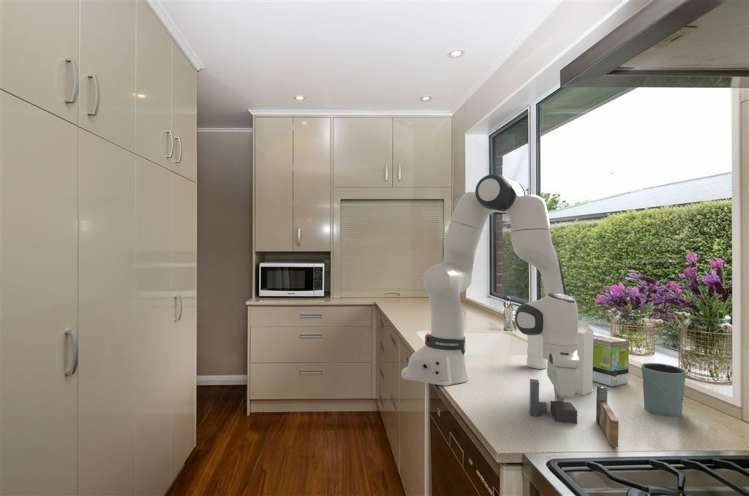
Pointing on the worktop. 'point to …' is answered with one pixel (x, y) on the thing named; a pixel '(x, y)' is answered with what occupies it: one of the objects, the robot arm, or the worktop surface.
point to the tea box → (610, 360)
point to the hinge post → (600, 396)
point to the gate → (609, 423)
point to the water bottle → (535, 352)
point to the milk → (584, 358)
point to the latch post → (536, 400)
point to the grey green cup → (663, 388)
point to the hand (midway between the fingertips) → (559, 403)
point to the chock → (563, 412)
